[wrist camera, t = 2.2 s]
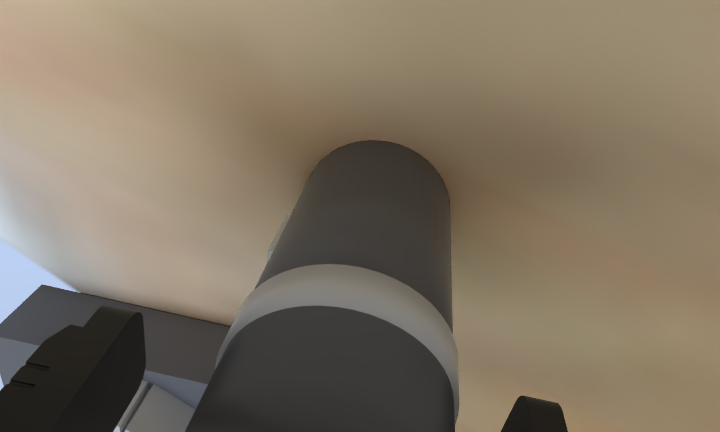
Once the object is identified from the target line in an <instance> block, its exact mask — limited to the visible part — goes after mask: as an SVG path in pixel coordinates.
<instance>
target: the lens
mask: <svg viewBox="0 0 720 432" xmlns="http://www.w3.org/2000/svg"><path fill="white" fill-rule="evenodd" d="M458 411H459V380H458V356H457V347H456V344H455V340H454V337H453V323H452V277H451V231H450V202H449V196H448V192H447V189H446V186H445V184H444V182H443V180H442V178H441V176H440V175H439V173H438V172H437V171H436V169H435V168H434V167H433V166H432V165H431V164H430V163H429V162H428V161H427V160H426V159H424V158H423V157H422V156H420V155H419V154H418V153H416V152H414V151H412V150H411V149H408V148H406V147H404V146H401V145H398V144H395V143H391V142H385V141H360V142H356V143H351V144H348V145H345V146H343V147H340V148H338V149H337V150H335V151H333V152H331V153H330V154H329V155H327V156H326V157H325V158H324V159H323V160H322V161H321V162H320V163H319V164H318V165H317V166H316V168H315V169H314V170H313V172H312V174H311V176H310V177H309V179H308V181H307V183H306V186H305V188H304V190H303V192H302V194H301V196H300V198H299V200H298V202H297V204H296V206H295V208H294V210H293V212H292V214H291V215H288V214H287V215H286V217H285V219H284V221H283V223H282V225H281V227H280V229H279V230H278V232H277V234H276V236H275V238H274V240H273V242H272V244H271V246H270V248H269V250H268V259H267V265H266V267H265V269H264V271H263V273H262V275H261V277H260V279H259V281H258V283H257V285H256V287H255V289H254V291H253V292H252V293H251V294H250V295H249V296H248V297H247V299H246V300H245V301H244V303H243V305H242V306H241V308H240V310H239V312H238V314H237V316H236V318H235V320H234V322H233V324H232V326H231V328H230V330H229V332H228V334H227V336H226V338H225V340H224V342H223V344H222V346H221V348H220V350H219V353H218V356H217V359H216V366H215V371H214V373H213V375H212V377H211V379H210V381H209V383H208V385H207V387H206V389H205V391H204V393H203V395H202V397H201V399H200V402H199V404H198V406H197V408H196V410H195V412H194V414H193V416H192V418H191V420H190V422H189V424H188V426H187V428H186V430H185V432H455V423H456V420H457V417H458Z"/></svg>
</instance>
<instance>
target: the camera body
mask: <svg viewBox="0 0 720 432" xmlns="http://www.w3.org/2000/svg"><path fill="white" fill-rule="evenodd" d="M103 305H109V306H113V307H118V308H123V309H127V310H132V311H137V312H140V313H141V314H142V316H143V322H144V337H145V352H146V367H145V372H144V376H143V379H142V382H141V385H140V387H139V389H138V391H137V393H136V394H135V396H134V398H133V399H132V401H131V403H130V404H129V406H128V408H127V409H126V411H125V413H124V414H123V416H122V418H121V419H120V421H119V423H118V424H117V426H116V428H115V429H114V431H113V432H185V430H186V428H187V426H188V424H189V422H190V420H191V418H192V416H193V414H194V412H195V410H196V408H197V406H198V404H199V402H200V399H201V397H202V395H203V393H204V391H205V389H206V387H207V385H208V383H209V381H210V379H211V377H212V375H213V373H214V371H215V366H216V359H217V356H218V353H219V350H220V348H221V346H222V344H223V342H224V340H225V338H226V336H227V334H228V332H229V330H230V328H231V327H229V326H224V325H220V324H215V323H211V322H206V321H202V320H198V319H193V318H189V317H184V316H180V315H175V314H171V313H166V312H162V311H157V310H153V309H149V308H144V307H140V306H135V305H131V304H126V303H122V302H117V301H113V300H108V299H104V298H100V297H95V296H91V295H86V294H82V293H77V292H73V291H68V290H64V289H59V288H55V287H51V286H46V285H41V286H40V287H39V288H38V289H37V290H36V291H35V292H34V293H32V295H30V296H29V297H28V298H27V299H26V300H25V301H24V302H23V303H22V304H21V305H20V306H19V307H18V308H17V309H16V310H15V311H13V312H12V313H11V314H10V315H9V316H8V317H7V318H6V319H5V320H4V321H3V322H2V323H1V324H0V375H1V378H2V382H3V385H4V386H5V385H6V384H9V383H10V379H11V378H12V377H13V376H14V375H15V374H16V372H17V371H18V370H19V369H20V368H21V367H22V366H25V364H26V361H27V360H28V359H29V358H30V356H31V355H32V354H33V353H34V352H35V351H36V350H37V348H38V347H39V346H40V345H41V344H42V343H43V342H44V340H46V339H48V338H49V337H51V336H52V335H54V334H56V333H57V332H59V331H61V330H62V329H64V328H65V327H67V326H69V325H70V324H71V325H75V326H80V327H84V325H85V324H86V323H87V322H88V320H89V319H90V318H91V317H92V315H93V314H94V313H95V312H96V311H97V310H98V309H99V308H100V307H101V306H103Z"/></svg>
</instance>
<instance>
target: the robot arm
mask: <svg viewBox="0 0 720 432" xmlns="http://www.w3.org/2000/svg"><path fill="white" fill-rule="evenodd" d="M145 367H146V352H145V337H144V322H143V316H142V314H141V313H140V312H137V311H132V310H127V309H123V308H118V307H113V306H109V305H103V306H101V307H100V308H99V309H98V310H97V311H96V312H95V313H94V314H93V315H92V317H91V318H90V319H89V320H88V322H87V323H86V324H85V325H84V327H80V326H75V325H71V324H70V325H69V326H67V327H65V328H64V329H62V330H61V331H59V332H57V333H56V334H54V335H52V336H51V337H49V338H48V339H46V340H44V342H43V343H42V344H41V345H40V346H39V347H38V348H37V350H36V351H35V352H34V353H33V354H32V355H31V356H30V358H29V359H28V360H27V361H26V364H25V366H22V367H21V368H20V369H19V370H18V371H17V372H16V374H15V375H14V376H13V377H12V378H11V379H10V383H9V384H6V385H5V386H4V387H3V389H1V391H0V432H113V431H114V429H115V428H116V426H117V424H118V423H119V421H120V419H121V418H122V416H123V414H124V413H125V411H126V409H127V408H128V406H129V404H130V403H131V401H132V399H133V398H134V396H135V394H136V393H137V391H138V389H139V387H140V385H141V382H142V379H143V376H144V372H145ZM501 432H568V431H567V427H566V423H565V419H564V415H563V411H562V408H561V406H560V405H559V404H558V403H555V402H550V401H545V400H541V399H536V398H531V397H527V396H520V397H519V398H518V399H517V401H516V403H515V404H514V406H513V408H512V410H511V412H510V414H509V416H508V418H507V420H506V422H505V424H504V426H503V428H502V430H501Z"/></svg>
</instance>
